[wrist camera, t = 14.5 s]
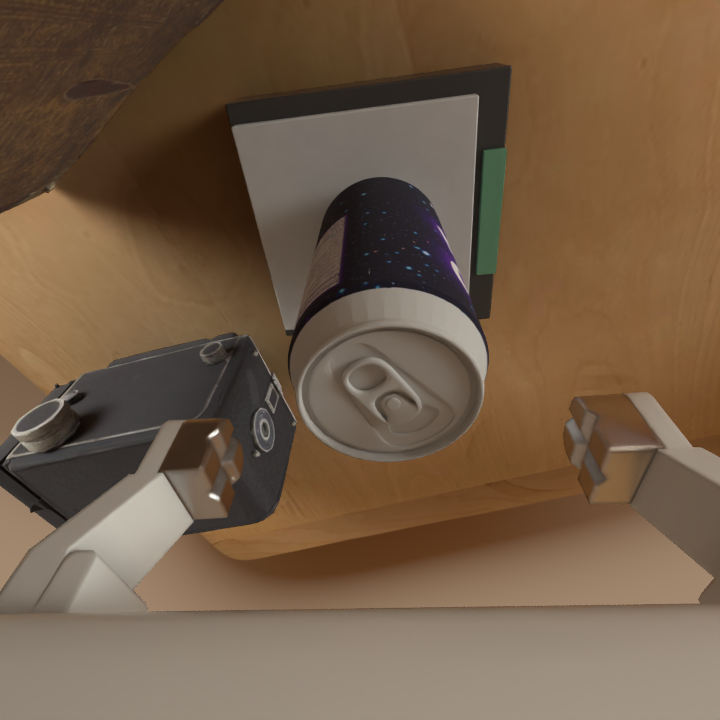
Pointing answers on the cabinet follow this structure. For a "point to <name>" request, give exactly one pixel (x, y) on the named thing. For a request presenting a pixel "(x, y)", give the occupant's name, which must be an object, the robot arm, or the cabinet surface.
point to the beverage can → (386, 330)
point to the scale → (377, 164)
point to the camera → (151, 428)
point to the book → (74, 77)
